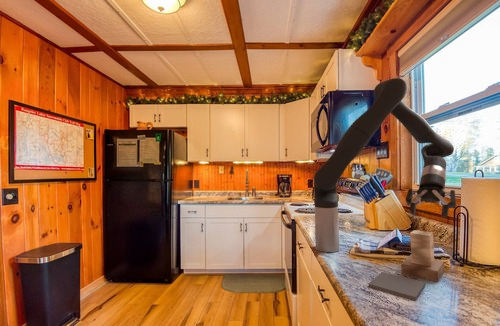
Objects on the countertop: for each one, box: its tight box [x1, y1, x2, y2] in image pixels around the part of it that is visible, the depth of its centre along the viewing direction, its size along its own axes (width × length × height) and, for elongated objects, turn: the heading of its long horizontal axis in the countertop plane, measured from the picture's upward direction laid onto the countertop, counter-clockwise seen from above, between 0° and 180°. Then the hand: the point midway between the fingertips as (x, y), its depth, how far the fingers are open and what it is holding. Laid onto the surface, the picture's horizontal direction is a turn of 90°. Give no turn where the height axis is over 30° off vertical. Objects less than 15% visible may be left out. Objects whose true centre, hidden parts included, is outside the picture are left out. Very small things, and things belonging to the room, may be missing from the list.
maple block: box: [409, 229, 435, 266], centre depth 78 cm, size 5×5×9 cm
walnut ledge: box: [400, 254, 445, 283], centre depth 78 cm, size 9×11×3 cm
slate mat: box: [368, 271, 427, 301], centre depth 69 cm, size 11×11×1 cm
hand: (427, 214), depth 86 cm, fingers open, 8 cm apart
